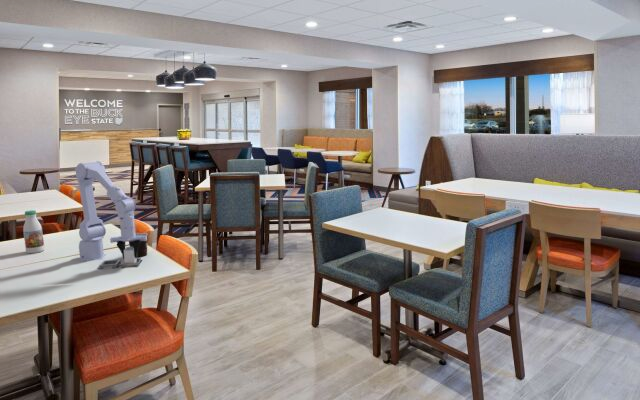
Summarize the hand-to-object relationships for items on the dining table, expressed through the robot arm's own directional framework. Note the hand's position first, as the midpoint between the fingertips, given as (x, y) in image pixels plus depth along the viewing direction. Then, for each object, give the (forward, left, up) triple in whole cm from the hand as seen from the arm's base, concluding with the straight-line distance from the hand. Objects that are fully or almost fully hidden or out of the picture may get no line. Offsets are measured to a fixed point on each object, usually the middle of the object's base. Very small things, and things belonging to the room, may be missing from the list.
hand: (130, 257), depth 199 cm
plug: (0, 0, -2) cm, 2 cm away
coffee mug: (+1, +14, -4) cm, 15 cm away
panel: (-4, 0, -3) cm, 5 cm away
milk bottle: (-52, +33, -4) cm, 61 cm away
